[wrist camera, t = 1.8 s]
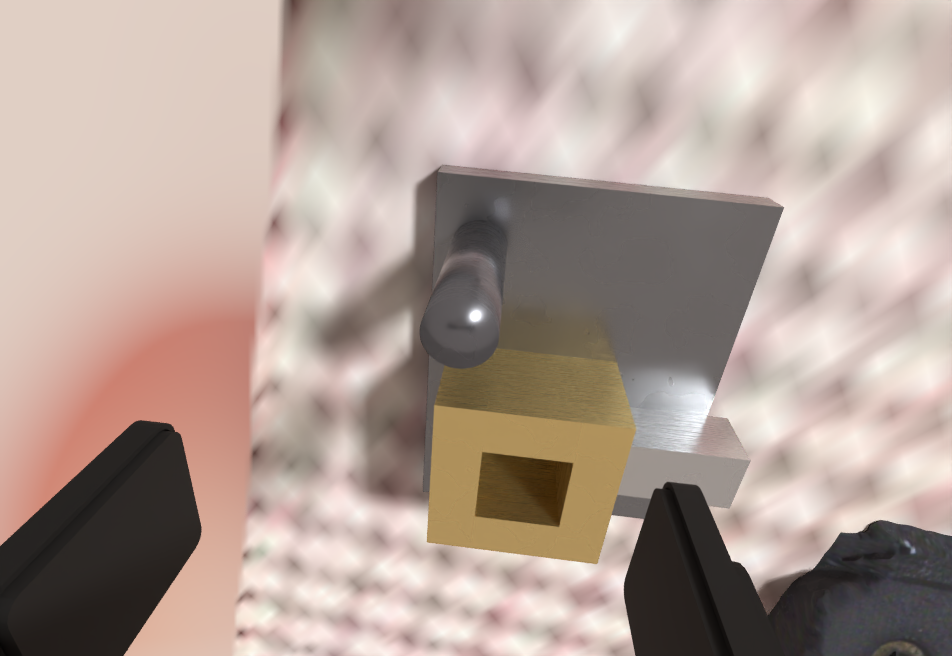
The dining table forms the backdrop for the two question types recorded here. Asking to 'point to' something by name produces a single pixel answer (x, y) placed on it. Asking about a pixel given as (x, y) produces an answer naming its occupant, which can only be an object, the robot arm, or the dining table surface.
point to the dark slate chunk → (872, 597)
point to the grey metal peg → (467, 298)
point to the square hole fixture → (589, 358)
